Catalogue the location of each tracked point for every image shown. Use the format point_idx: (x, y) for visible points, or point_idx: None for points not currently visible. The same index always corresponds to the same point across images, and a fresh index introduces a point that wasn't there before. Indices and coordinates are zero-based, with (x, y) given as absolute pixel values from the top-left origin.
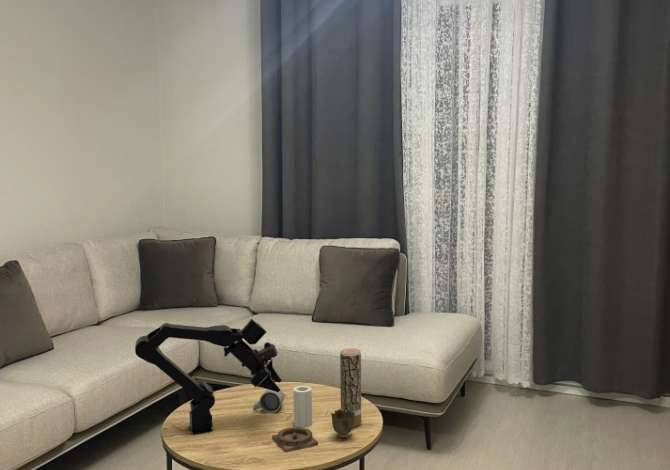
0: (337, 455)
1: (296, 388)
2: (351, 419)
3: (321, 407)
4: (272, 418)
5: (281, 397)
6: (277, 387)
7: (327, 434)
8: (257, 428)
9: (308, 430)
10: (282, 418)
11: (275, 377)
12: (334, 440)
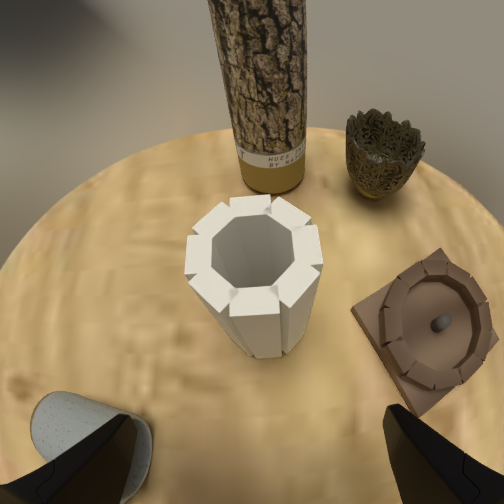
0: (469, 204)
1: (239, 292)
2: (399, 125)
3: (123, 263)
4: (207, 449)
5: (99, 407)
6: (423, 425)
7: (359, 230)
8: (314, 495)
9: (408, 274)
10: (209, 409)
11: (111, 468)
12: (396, 210)
